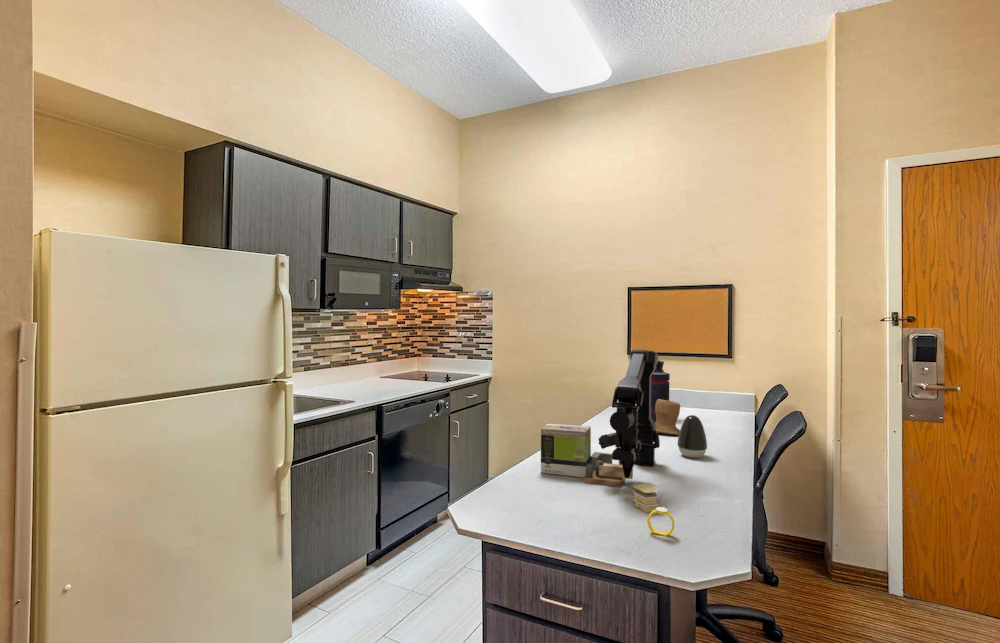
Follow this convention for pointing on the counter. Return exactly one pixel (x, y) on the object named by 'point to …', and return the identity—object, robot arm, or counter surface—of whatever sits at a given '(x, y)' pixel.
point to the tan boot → (667, 416)
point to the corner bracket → (600, 458)
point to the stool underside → (601, 478)
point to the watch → (661, 511)
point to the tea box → (565, 449)
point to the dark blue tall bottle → (659, 387)
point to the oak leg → (610, 470)
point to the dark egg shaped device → (692, 438)
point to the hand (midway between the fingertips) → (626, 477)
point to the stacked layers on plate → (645, 497)
